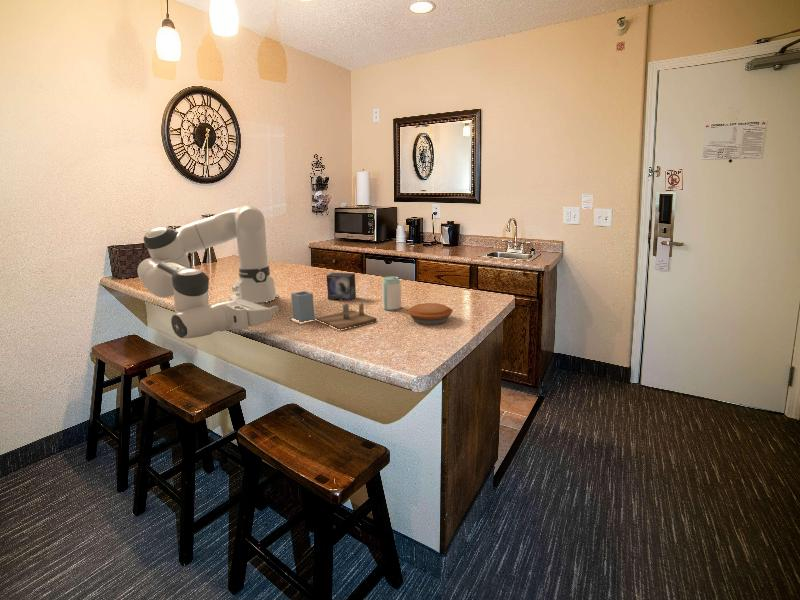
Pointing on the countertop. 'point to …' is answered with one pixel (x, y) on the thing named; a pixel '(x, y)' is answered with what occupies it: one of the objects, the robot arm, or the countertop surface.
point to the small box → (341, 286)
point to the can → (391, 293)
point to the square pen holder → (303, 306)
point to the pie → (430, 313)
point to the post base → (346, 322)
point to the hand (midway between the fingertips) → (270, 305)
